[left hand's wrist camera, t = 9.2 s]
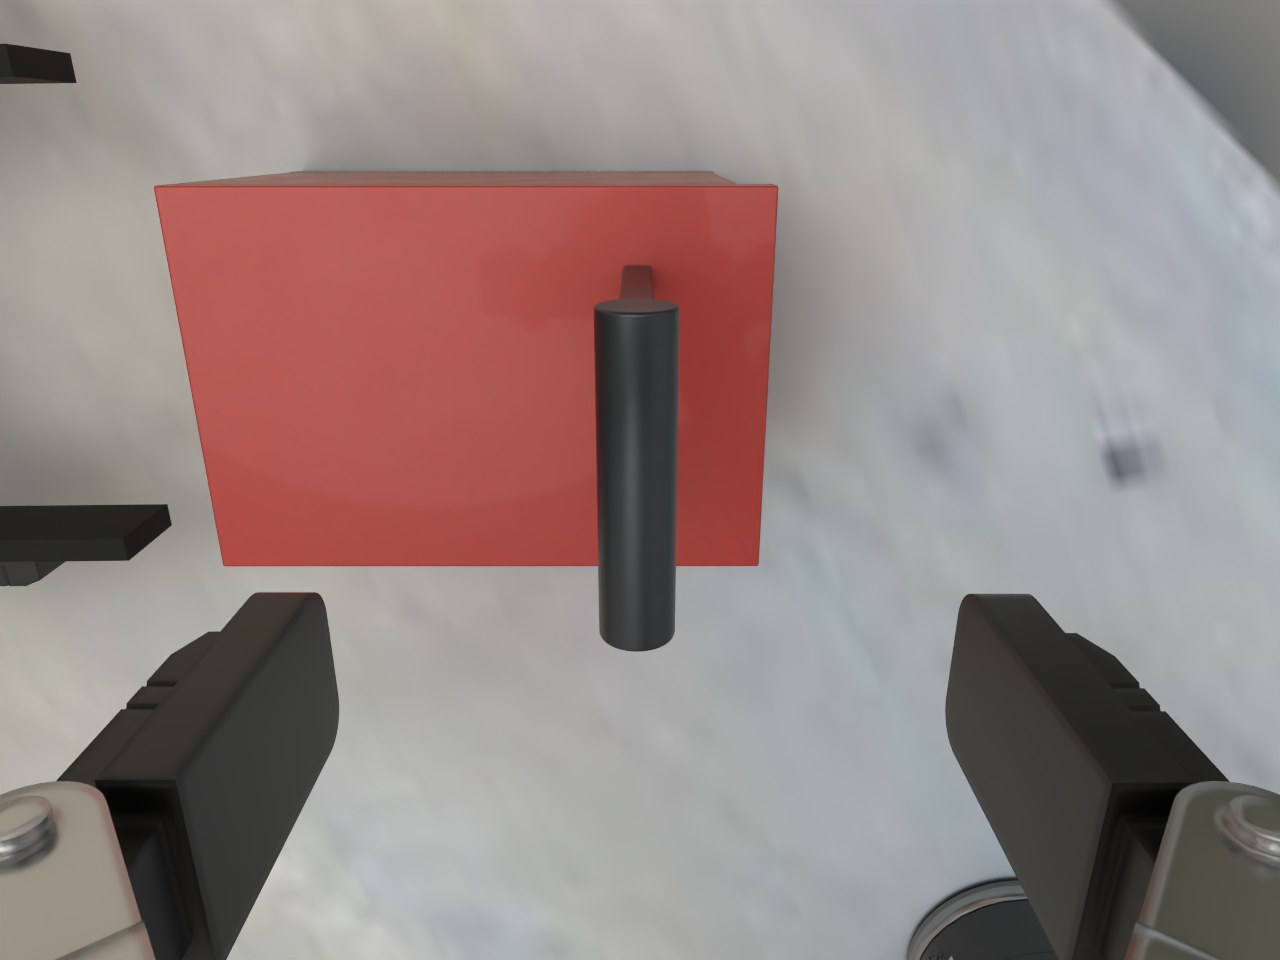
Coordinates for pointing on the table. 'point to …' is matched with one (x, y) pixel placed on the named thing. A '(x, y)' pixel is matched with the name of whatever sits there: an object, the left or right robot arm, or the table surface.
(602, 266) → the lid
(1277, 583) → the table surface
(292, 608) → the left robot arm
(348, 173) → the chest
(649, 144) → the table surface
